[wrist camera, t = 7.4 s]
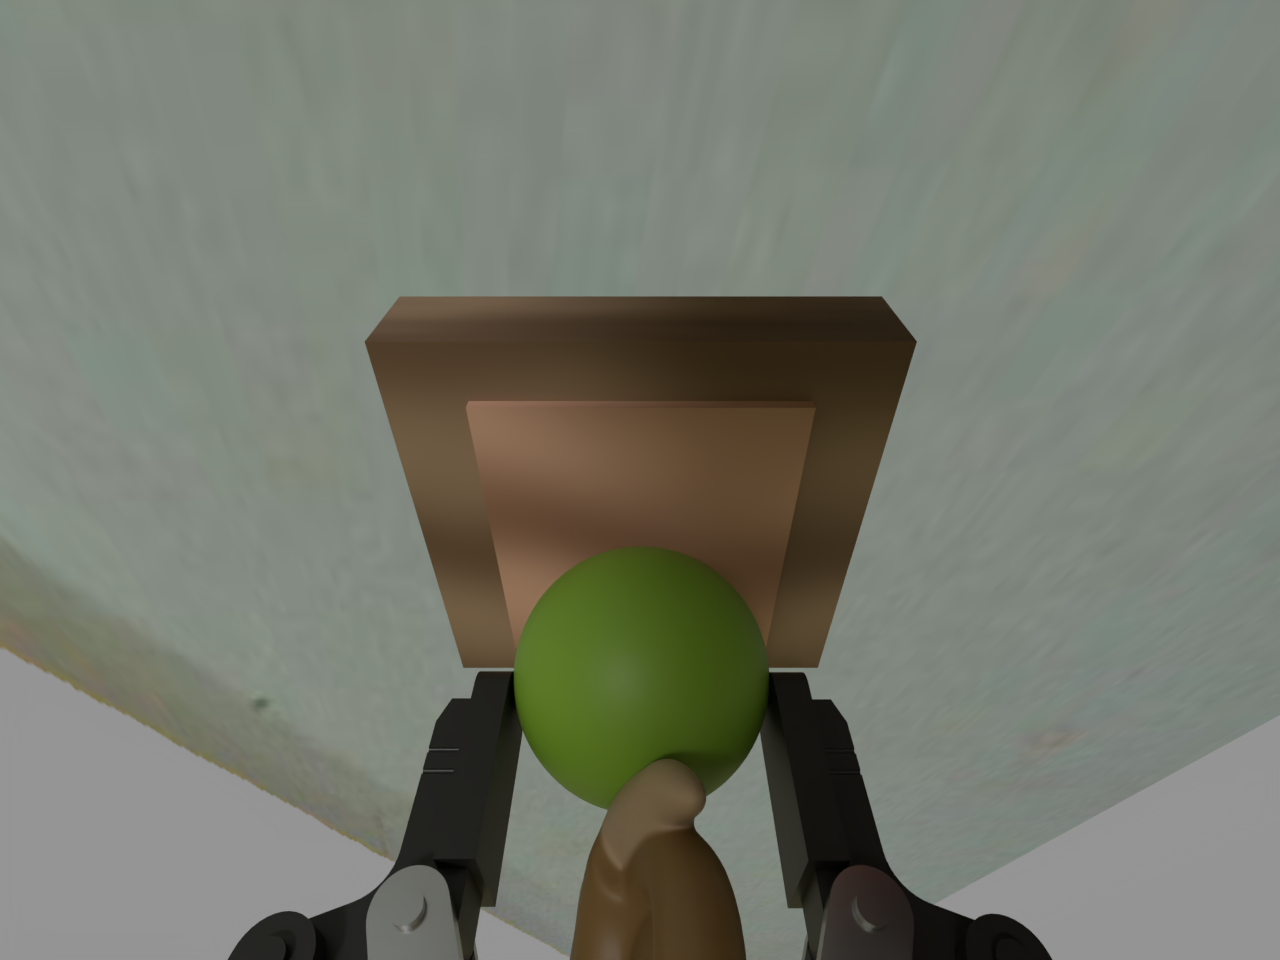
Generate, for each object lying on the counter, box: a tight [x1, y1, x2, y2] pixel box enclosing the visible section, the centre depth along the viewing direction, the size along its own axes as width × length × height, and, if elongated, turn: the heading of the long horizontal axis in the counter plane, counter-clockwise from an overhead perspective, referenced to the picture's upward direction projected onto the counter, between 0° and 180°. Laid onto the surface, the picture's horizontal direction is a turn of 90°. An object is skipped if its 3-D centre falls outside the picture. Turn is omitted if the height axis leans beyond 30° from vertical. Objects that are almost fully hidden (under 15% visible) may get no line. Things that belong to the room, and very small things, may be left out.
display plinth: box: [365, 296, 917, 668], centre depth 18 cm, size 12×12×3 cm
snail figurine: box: [513, 546, 770, 960], centre depth 11 cm, size 5×6×12 cm
